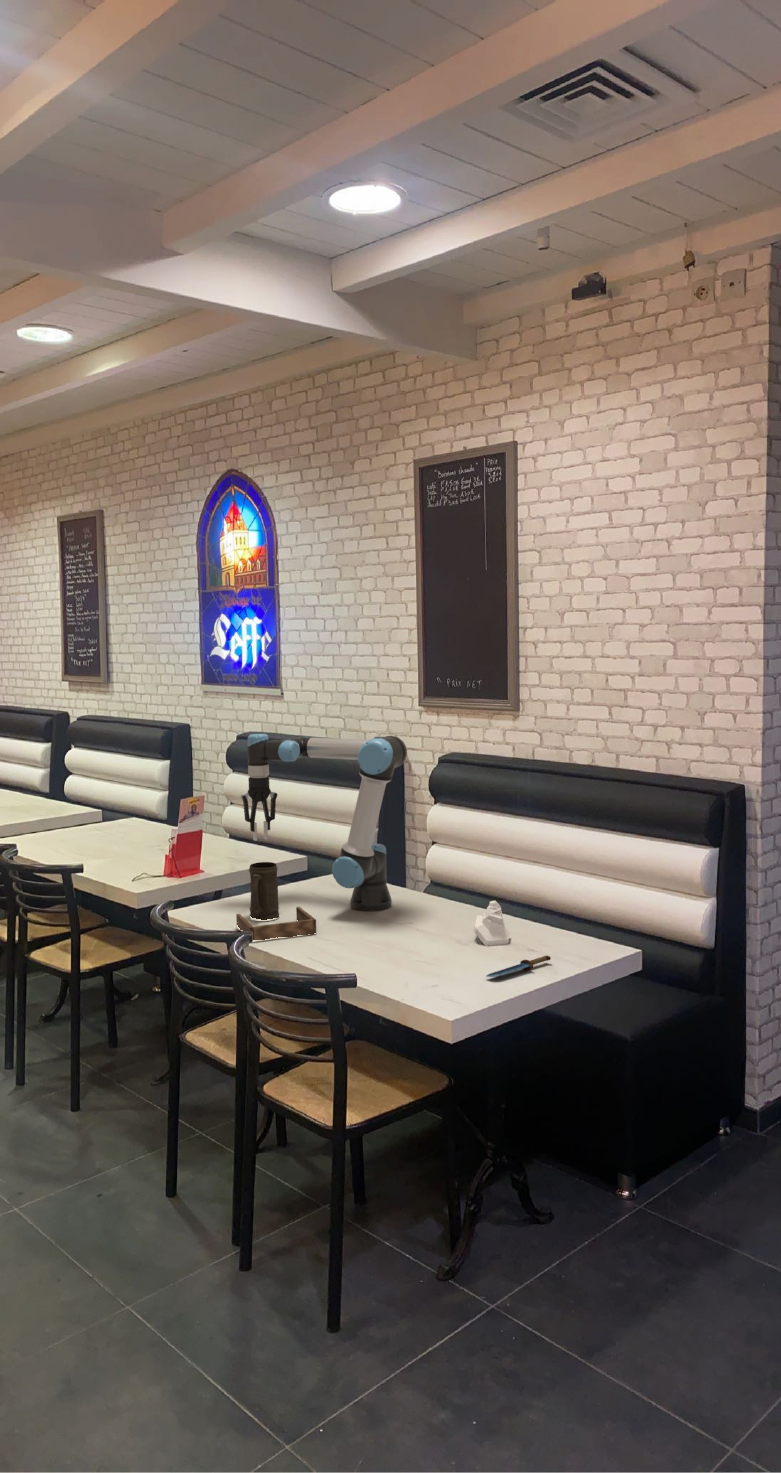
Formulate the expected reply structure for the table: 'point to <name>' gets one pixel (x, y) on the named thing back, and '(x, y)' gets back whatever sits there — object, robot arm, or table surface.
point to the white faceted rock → (492, 926)
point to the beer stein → (264, 891)
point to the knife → (520, 966)
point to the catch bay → (280, 927)
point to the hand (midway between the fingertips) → (260, 839)
